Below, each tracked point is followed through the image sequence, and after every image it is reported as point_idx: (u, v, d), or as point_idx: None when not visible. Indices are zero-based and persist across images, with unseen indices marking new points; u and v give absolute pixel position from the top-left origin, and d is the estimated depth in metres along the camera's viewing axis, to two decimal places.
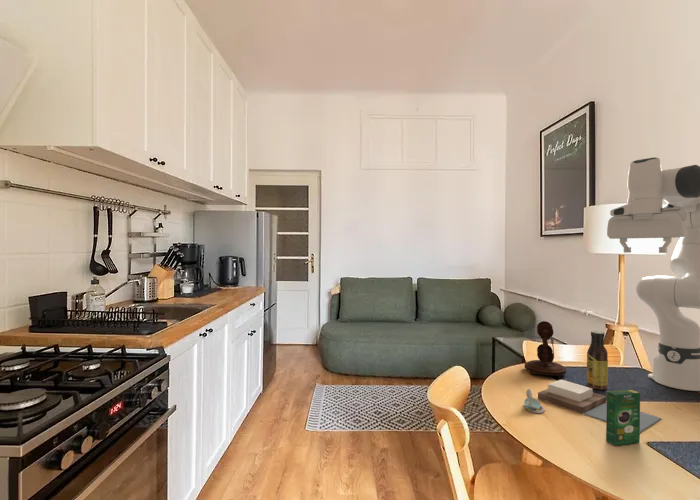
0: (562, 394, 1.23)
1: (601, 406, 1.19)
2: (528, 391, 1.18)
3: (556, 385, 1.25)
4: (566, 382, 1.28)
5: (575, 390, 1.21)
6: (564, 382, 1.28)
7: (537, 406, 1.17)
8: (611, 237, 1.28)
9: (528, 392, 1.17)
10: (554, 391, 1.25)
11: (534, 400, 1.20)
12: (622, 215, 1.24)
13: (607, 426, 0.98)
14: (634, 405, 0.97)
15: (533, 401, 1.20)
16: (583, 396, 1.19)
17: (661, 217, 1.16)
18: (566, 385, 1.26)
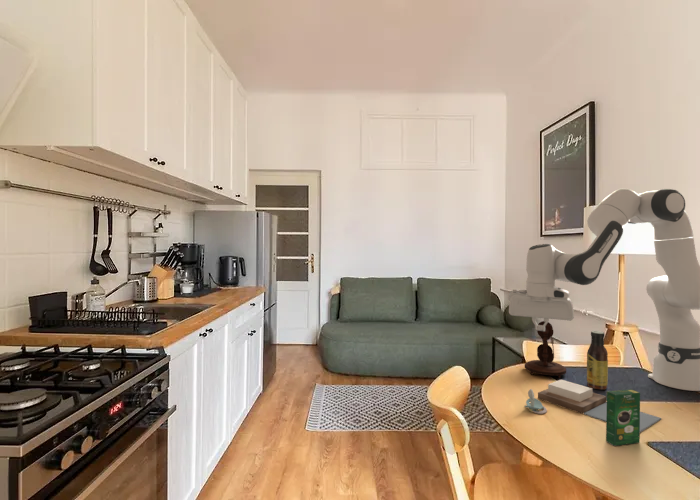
0: (562, 394, 1.23)
1: (601, 406, 1.19)
2: (530, 391, 1.17)
3: (556, 385, 1.25)
4: (566, 382, 1.28)
5: (575, 390, 1.21)
6: (564, 382, 1.28)
7: (539, 406, 1.17)
8: None
9: (530, 392, 1.17)
10: (554, 391, 1.25)
11: (536, 400, 1.20)
12: None
13: (607, 426, 0.98)
14: (634, 405, 0.97)
15: (535, 401, 1.20)
16: (583, 396, 1.19)
17: None
18: (566, 385, 1.26)
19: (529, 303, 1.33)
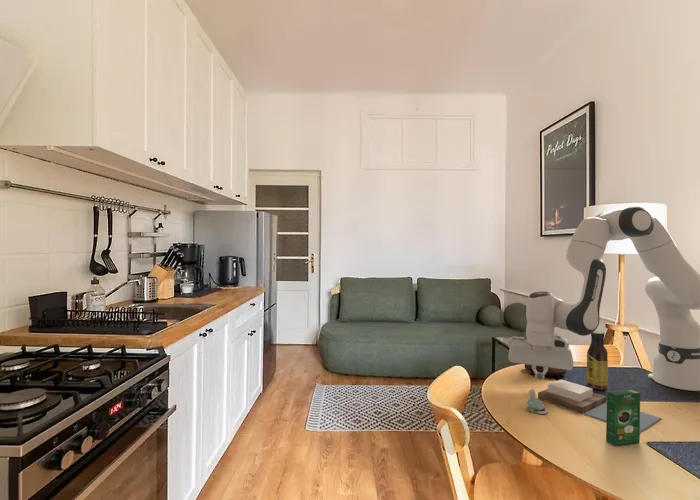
0: (562, 394, 1.23)
1: (601, 406, 1.19)
2: (531, 392, 1.17)
3: (556, 385, 1.25)
4: (566, 382, 1.28)
5: (575, 390, 1.21)
6: (564, 382, 1.28)
7: (540, 407, 1.17)
8: None
9: (531, 393, 1.17)
10: (554, 391, 1.25)
11: (537, 401, 1.20)
12: None
13: (607, 426, 0.98)
14: (634, 405, 0.97)
15: (536, 402, 1.20)
16: (583, 396, 1.19)
17: None
18: (566, 385, 1.26)
19: (529, 351, 1.33)
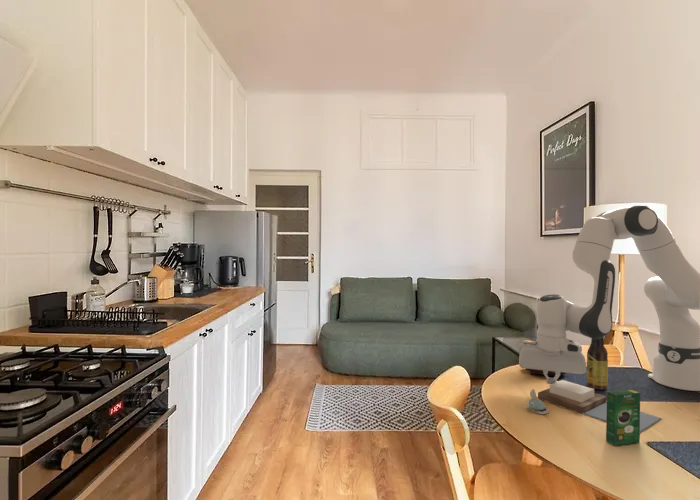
0: (564, 395, 1.22)
1: (601, 406, 1.19)
2: (532, 392, 1.17)
3: (557, 386, 1.25)
4: (568, 383, 1.27)
5: (577, 390, 1.21)
6: (566, 382, 1.28)
7: (541, 407, 1.17)
8: None
9: (532, 393, 1.17)
10: (556, 392, 1.24)
11: (538, 401, 1.20)
12: None
13: (607, 426, 0.98)
14: (634, 405, 0.97)
15: (537, 402, 1.19)
16: (584, 397, 1.19)
17: None
18: (567, 385, 1.25)
19: (541, 356, 1.30)
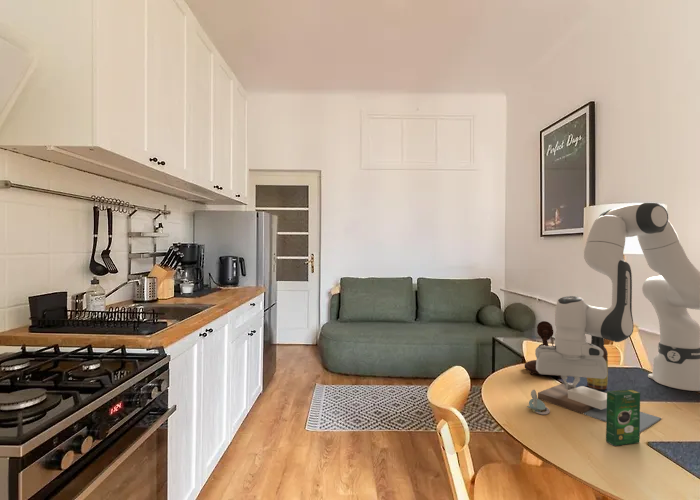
0: (582, 401, 1.17)
1: None
2: (533, 392, 1.17)
3: (576, 392, 1.19)
4: (588, 389, 1.22)
5: (596, 397, 1.15)
6: (585, 388, 1.22)
7: (542, 407, 1.17)
8: None
9: (533, 393, 1.17)
10: (574, 398, 1.19)
11: (539, 401, 1.19)
12: None
13: (607, 426, 0.98)
14: (634, 405, 0.97)
15: (538, 402, 1.19)
16: (605, 404, 1.13)
17: None
18: (587, 391, 1.20)
19: (560, 361, 1.24)
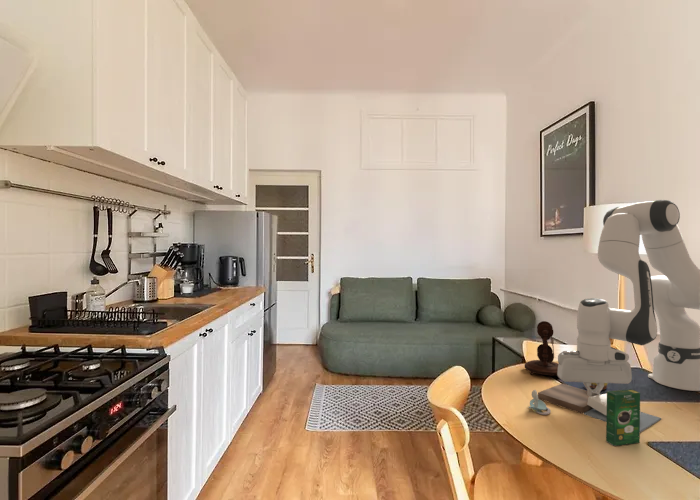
0: (602, 411, 1.12)
1: None
2: (534, 392, 1.17)
3: (597, 400, 1.14)
4: None
5: None
6: None
7: (543, 407, 1.16)
8: None
9: (534, 393, 1.16)
10: (594, 406, 1.14)
11: (540, 401, 1.19)
12: None
13: (607, 426, 0.98)
14: (634, 405, 0.97)
15: (539, 402, 1.19)
16: None
17: None
18: None
19: (584, 367, 1.18)
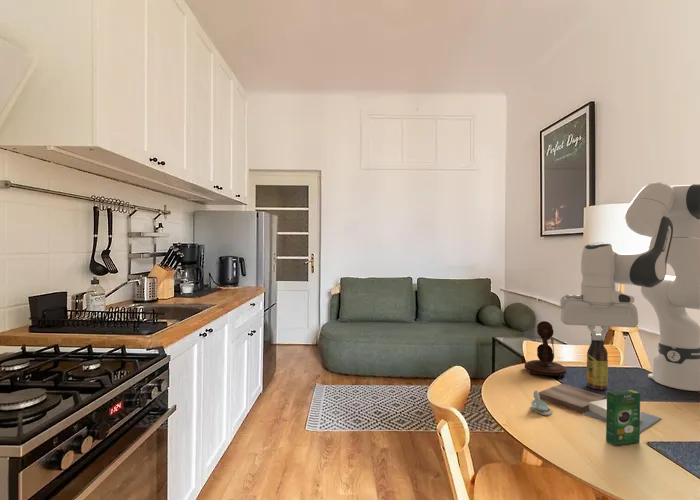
0: (603, 414, 1.11)
1: None
2: (535, 393, 1.16)
3: (597, 404, 1.14)
4: None
5: None
6: None
7: (545, 408, 1.16)
8: None
9: (535, 394, 1.16)
10: (595, 410, 1.14)
11: (541, 402, 1.19)
12: None
13: (607, 426, 0.98)
14: (634, 405, 0.97)
15: (540, 403, 1.19)
16: None
17: None
18: None
19: (587, 310, 1.17)
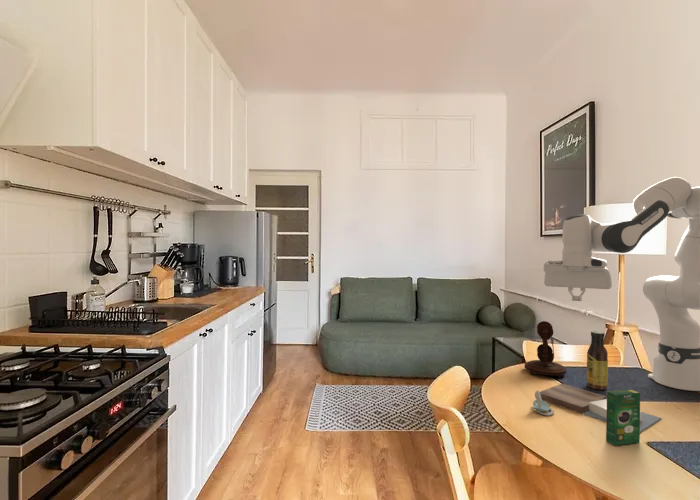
0: (603, 414, 1.11)
1: None
2: (537, 393, 1.16)
3: (597, 404, 1.14)
4: None
5: None
6: None
7: (546, 408, 1.16)
8: None
9: (537, 394, 1.16)
10: (595, 410, 1.14)
11: (543, 402, 1.19)
12: None
13: (607, 426, 0.98)
14: (634, 405, 0.97)
15: (542, 403, 1.19)
16: None
17: None
18: None
19: (565, 273, 1.34)
